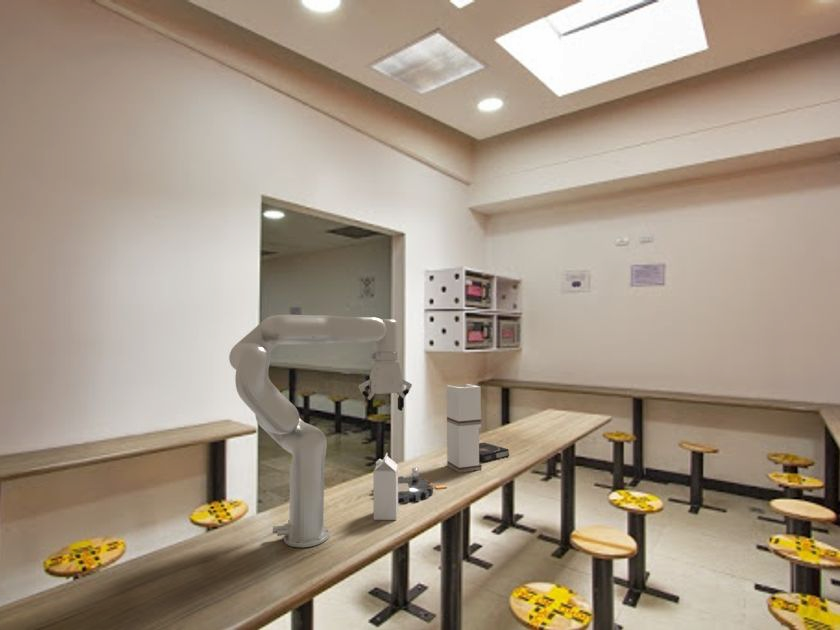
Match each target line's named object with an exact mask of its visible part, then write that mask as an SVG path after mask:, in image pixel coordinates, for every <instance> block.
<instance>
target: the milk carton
mask: <svg viewBox="0 0 840 630" xmlns="http://www.w3.org/2000/svg"><path fill="white" fill-rule="evenodd" d="M375 464H376V465H375V467H374V469H373V472H372V473H373V478H372V481H373V487H372V489H373V493H374V494H373V493H372V494H373V520H374V521H397V518H398V515H399V501H398V478H399V464H397V462H395V461H394V460H393V459H391V458H390V456H388V452H386V454H385V456H384V457H383V459H381V458H379V459H377V461H375Z"/></svg>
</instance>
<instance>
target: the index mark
mask: <svg viewBox="0 0 840 630" xmlns="http://www.w3.org/2000/svg"><path fill="white" fill-rule="evenodd" d="M434 488H435V490H442V489H443V488H444V489H447V488H448V487H447V485H445V484H442V485H434ZM444 489H443V490H444Z"/></svg>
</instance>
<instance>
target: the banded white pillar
mask: <svg viewBox="0 0 840 630" xmlns="http://www.w3.org/2000/svg"><path fill="white" fill-rule="evenodd" d="M481 387H482V386H479V385H474V384H469V383H466V384H465V387H464V386H453V385H449V384H447V385H446V457H447V459H446V460H447V461H446V463H447V464H446V465H448V467H449V466H450V467H449V468H451V469H452V468H453V469H452V470H454V471H455V472H457V471H458V472H457V473H459V472H461V473H467V471H469V472H475V471H474V470H476V471H482V470H481V469H483V467H482V463H480V462H479V443H480V431H479V429H480V428H482V401H481V399H482V396H481V395H482V394H481V393H482V391H481Z"/></svg>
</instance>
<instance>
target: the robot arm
mask: <svg viewBox="0 0 840 630" xmlns="http://www.w3.org/2000/svg"><path fill="white" fill-rule="evenodd" d="M343 343H373V353H369V358H370V359H373V361H372V362H371V365H370V374H369V379H368V380H366V381H364V382H362V383H360V384H359V385H358V389H359V391H360V393H361V394H362V396H364V397H365V398H366V401H367V402H366V409H367V410H368V412H369V413H373V411H374V400H373V397H374V396H375V394H381V395H382V394H397V395H398V397H397V410H399V411H403V408H405V402H404V401H405V398H406V396H407V395H408V394H409V393H410V390H411V388H412V385H413V384H412V383H410V382H409V381H408V380H407V381H406V380H404V378H403V373H402V365H401V361H398V322H397V320H396V319H392V318H389V319H388V318H378V317H372V316H370V317H369V316H337V315H326V314H325V315H321V314H320V315H315V314H313V315H312V314H278V315H277V314H276V315H271V316H270V315H269V316H268V317H266V318H265V319H263V320H262V321H261V322H260V323H259V324H258V325H257V326H255V327H254V328H253V329H252V330H251V331H249V333H247V334H246V335H245V336H244V337H243V338H241V339H240V340H239V341H238V342H237V343H236V344H234V346H232V348H231V350H230V352H229V357H228V359H229V363H230V365H231V366H232V368H233V369H234V370H235V377H234V379H235V380H234V381H235V388H236V391H237V394H238V396H239V398H240V399H241V400H242V402H243V403H244V404H245V405H246V406H247V407H248V408H249V409H250V410H251V411H252V412H253V413H254V415H255V416H254V417H255V419H256V422H257V424H258V425H259V427H261V429H263V431H264V432H265V433H267V434H268V435H269V436H270V437H271V438H272V439H273V440H274V441H275V443H277V444H278V445H279V446H280V447H281V448H282V449H283V450H285V451H286V452H288V453H290V454H291V455H292V458H291V465H290V467H289V468H290V469H289V519H288V521H287V523H284V524H283V525H274V526H272V534H273V535H274V534H276V535H277V537H279V536H283V542H284V543H285V544H286V545H287V546H289V547H293V548H294V547H295V548H310V547H314V546H318V545H321V544H322V543H324V542H326V541H327V540H328V539H329V538H330V529H329V528H328V527H326V526H325V463H326V462H325V460H326V455H327V448H328V445H327V444H328V443H327V442H328V441H327V437H326V436H325V434H324V432H323V431H322V430H321V429H320V428H319V427H317V426H314V425H312V424H310V423H307V422H305V421H304V420H302V419H301V418H300V412H299V410H298V409H297V407H296V406H295V405H294V404H293V403H292V402H291V401H290V400H289V399H288V398H287V397H286V396H285V395H283V394H282V392H281V391H279V389H278V388H277V387H276V386H275V385H274V384H273V382H272V380H271V379H270V377H269V369H270V368H269V367H270V364H271V352H273V351H274V349H276V348H277V347H278V346H279V345H283V346H284V345H287V346H289V345H291V346H292V345H294V346H295V345H334V344H343ZM403 385H404V386H405V388H404V390H403ZM366 387H369V391H368V392H367V391H366V389H365V388H366Z"/></svg>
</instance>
